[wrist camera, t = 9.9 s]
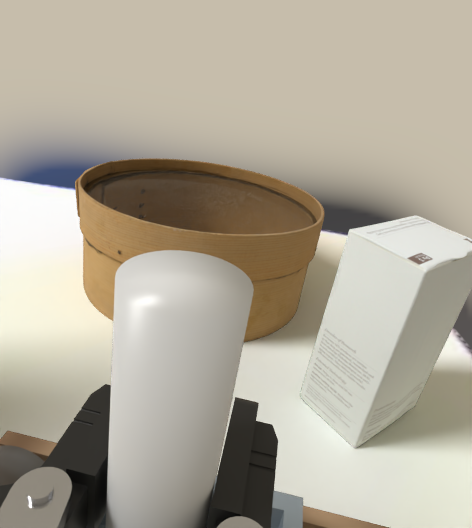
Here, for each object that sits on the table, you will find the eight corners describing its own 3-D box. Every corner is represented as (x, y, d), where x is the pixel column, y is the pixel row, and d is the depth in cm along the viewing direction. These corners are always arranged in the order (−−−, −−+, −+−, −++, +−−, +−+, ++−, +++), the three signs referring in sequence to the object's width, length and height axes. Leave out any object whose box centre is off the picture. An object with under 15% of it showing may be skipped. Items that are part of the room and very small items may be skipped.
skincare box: (358, 367, 38) (414, 212, 31) (418, 412, 34) (496, 243, 27) (293, 400, 33) (344, 222, 26) (355, 456, 29) (432, 263, 22)
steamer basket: (20, 285, 41) (15, 172, 36) (163, 225, 62) (171, 148, 58) (248, 389, 33) (278, 262, 29) (322, 279, 55) (347, 196, 50)
